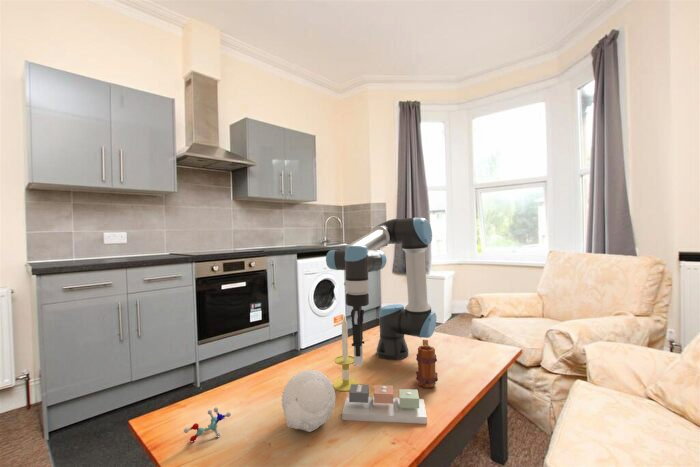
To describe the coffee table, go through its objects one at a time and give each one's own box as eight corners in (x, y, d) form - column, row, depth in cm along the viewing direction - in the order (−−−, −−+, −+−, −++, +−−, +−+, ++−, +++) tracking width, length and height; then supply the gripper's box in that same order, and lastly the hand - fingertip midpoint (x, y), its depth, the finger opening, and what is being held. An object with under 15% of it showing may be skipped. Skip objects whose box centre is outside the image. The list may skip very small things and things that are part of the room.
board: (346, 402, 114) (346, 392, 114) (423, 405, 111) (423, 395, 111) (342, 419, 103) (342, 409, 103) (427, 423, 100) (426, 413, 100)
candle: (346, 377, 134) (344, 310, 134) (364, 385, 127) (362, 314, 127) (327, 385, 127) (325, 315, 127) (345, 394, 120) (343, 320, 120)
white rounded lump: (326, 403, 114) (325, 357, 114) (354, 428, 99) (353, 374, 99) (270, 422, 103) (268, 371, 103) (292, 453, 88) (290, 393, 88)
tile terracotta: (375, 393, 111) (374, 384, 111) (393, 394, 110) (393, 385, 110) (374, 403, 105) (374, 393, 105) (393, 403, 104) (393, 393, 104)
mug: (438, 391, 120) (437, 350, 120) (416, 390, 122) (415, 349, 122) (436, 374, 135) (435, 337, 135) (416, 373, 136) (415, 337, 136)
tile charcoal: (351, 393, 112) (351, 383, 112) (369, 393, 111) (369, 384, 111) (349, 402, 106) (349, 392, 106) (368, 402, 105) (367, 392, 105)
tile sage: (399, 398, 110) (399, 388, 110) (417, 398, 109) (417, 389, 109) (399, 407, 104) (399, 397, 104) (419, 408, 103) (419, 398, 103)
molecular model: (197, 412, 103) (208, 390, 100) (224, 425, 104) (236, 404, 101) (175, 446, 92) (187, 422, 89) (207, 460, 93) (219, 437, 90)
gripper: (348, 289, 115) (349, 357, 115) (342, 296, 102) (344, 372, 102) (369, 289, 114) (371, 357, 114) (367, 296, 101) (368, 373, 101)
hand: (358, 364), depth 108 cm, fingers closed
